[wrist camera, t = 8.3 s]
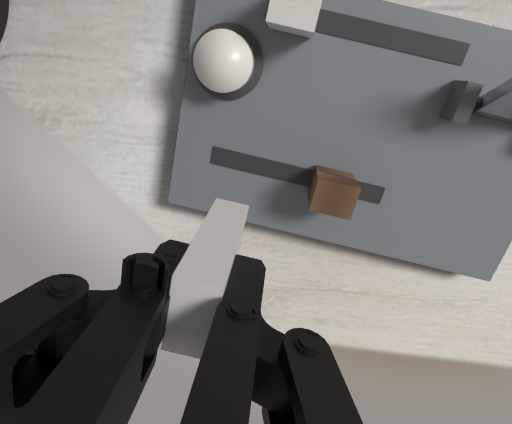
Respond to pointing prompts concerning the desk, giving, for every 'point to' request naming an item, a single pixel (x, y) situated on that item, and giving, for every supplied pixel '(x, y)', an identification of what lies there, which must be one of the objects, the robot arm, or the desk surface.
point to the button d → (223, 61)
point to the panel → (358, 130)
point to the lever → (496, 103)
